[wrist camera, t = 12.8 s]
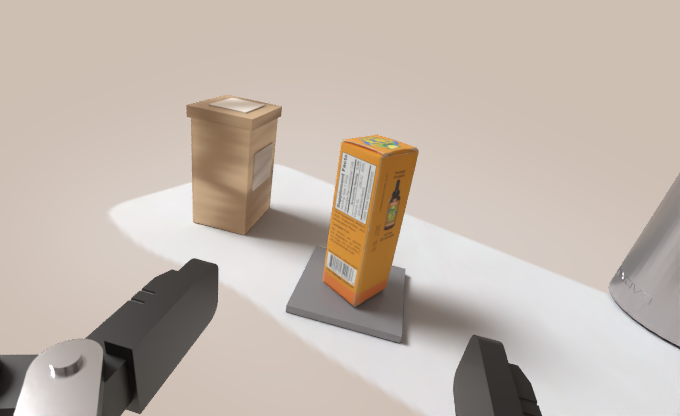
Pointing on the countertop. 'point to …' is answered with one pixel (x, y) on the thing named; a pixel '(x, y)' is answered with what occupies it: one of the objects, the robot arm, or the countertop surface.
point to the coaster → (326, 306)
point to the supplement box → (367, 215)
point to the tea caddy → (232, 161)
